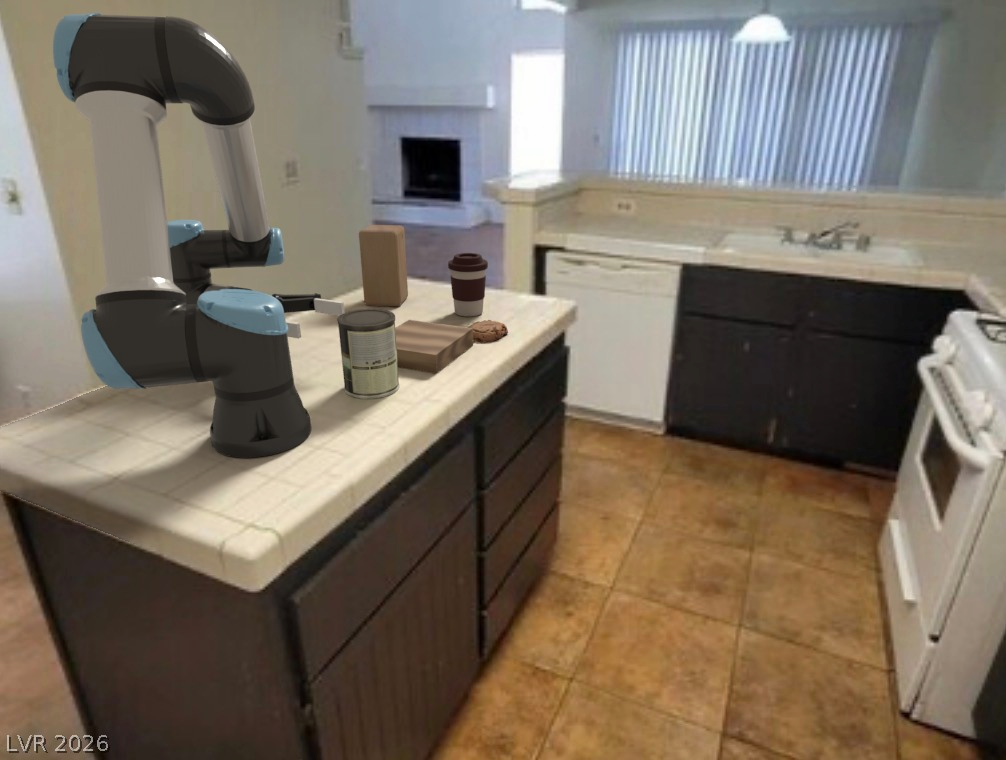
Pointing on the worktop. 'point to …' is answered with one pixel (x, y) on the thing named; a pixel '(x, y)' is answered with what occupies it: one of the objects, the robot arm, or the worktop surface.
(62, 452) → the worktop surface
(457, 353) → the walnut base block
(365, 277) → the wooden block
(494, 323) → the cookie
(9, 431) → the worktop surface
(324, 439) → the worktop surface
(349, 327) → the coffee can
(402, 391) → the worktop surface
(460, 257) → the coffee cup
